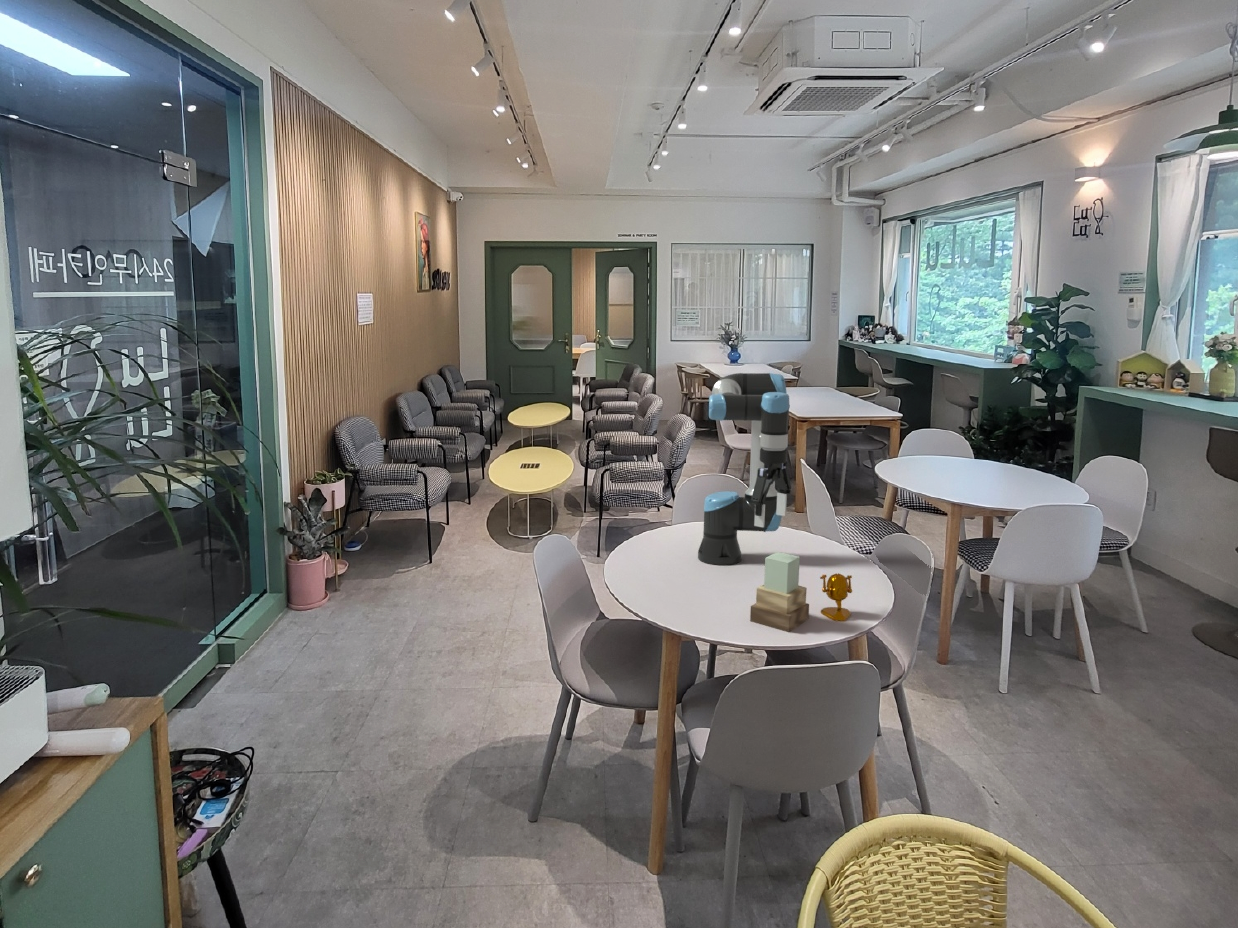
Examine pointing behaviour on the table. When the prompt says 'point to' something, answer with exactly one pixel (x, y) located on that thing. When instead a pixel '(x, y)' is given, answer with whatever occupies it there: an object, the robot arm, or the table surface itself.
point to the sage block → (781, 572)
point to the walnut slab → (779, 617)
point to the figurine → (837, 596)
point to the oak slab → (781, 599)
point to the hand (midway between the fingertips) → (770, 520)
